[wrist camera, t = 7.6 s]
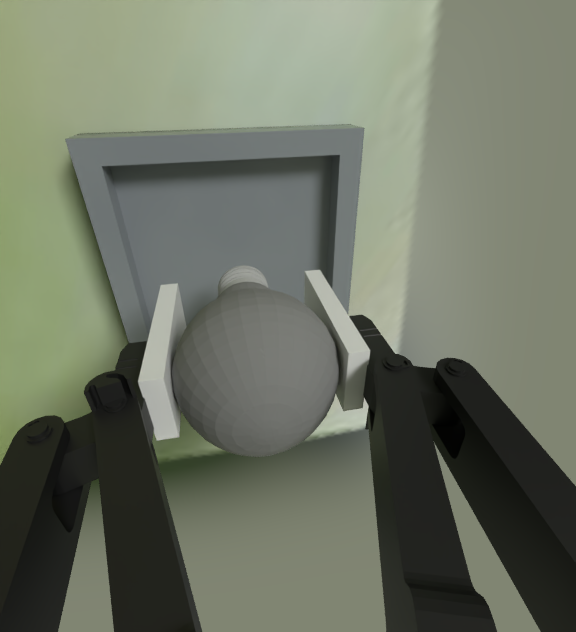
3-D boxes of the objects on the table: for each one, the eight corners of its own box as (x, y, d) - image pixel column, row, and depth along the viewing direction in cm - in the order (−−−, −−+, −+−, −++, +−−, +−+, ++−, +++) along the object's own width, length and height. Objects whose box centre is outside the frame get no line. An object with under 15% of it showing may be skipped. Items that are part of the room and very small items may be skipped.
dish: (144, 355, 25) (139, 376, 24) (79, 133, 18) (65, 139, 16) (335, 331, 27) (345, 349, 26) (349, 124, 20) (364, 127, 18)
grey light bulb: (271, 341, 21) (312, 501, 13) (169, 315, 19) (141, 487, 11) (315, 253, 19) (400, 380, 11) (204, 211, 17) (201, 330, 8)
